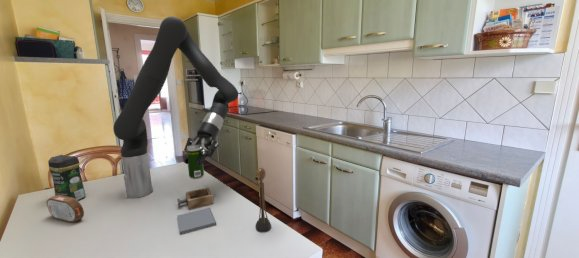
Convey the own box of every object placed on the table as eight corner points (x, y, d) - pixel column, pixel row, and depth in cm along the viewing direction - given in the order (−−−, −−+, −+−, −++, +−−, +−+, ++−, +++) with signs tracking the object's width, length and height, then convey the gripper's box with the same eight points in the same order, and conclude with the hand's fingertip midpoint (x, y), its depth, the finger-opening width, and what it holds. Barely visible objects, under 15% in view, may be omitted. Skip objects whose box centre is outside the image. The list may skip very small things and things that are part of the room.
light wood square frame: (179, 212, 94) (178, 203, 93) (177, 202, 102) (176, 193, 101) (213, 204, 99) (212, 195, 99) (209, 195, 107) (208, 187, 106)
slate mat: (180, 234, 80) (179, 231, 80) (177, 218, 90) (177, 215, 90) (216, 224, 85) (216, 222, 85) (210, 210, 95) (210, 207, 95)
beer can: (206, 177, 99) (203, 146, 96) (192, 180, 96) (189, 149, 93) (201, 173, 103) (198, 143, 101) (187, 176, 100) (184, 146, 97)
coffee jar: (52, 202, 104) (42, 157, 101) (73, 193, 112) (65, 152, 108) (68, 205, 101) (59, 159, 98) (89, 196, 109) (81, 153, 105)
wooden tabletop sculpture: (266, 235, 79) (263, 172, 75) (252, 233, 80) (248, 171, 76) (272, 224, 84) (270, 165, 80) (259, 222, 86) (256, 164, 82)
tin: (86, 220, 90) (82, 197, 88) (76, 225, 87) (71, 202, 86) (58, 214, 95) (53, 192, 93) (47, 218, 92) (42, 196, 90)
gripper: (191, 120, 105) (170, 157, 96) (220, 122, 99) (201, 161, 91) (201, 130, 110) (183, 166, 102) (230, 132, 105) (212, 171, 97)
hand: (192, 164), depth 96 cm, fingers closed on beer can, 5 cm apart
